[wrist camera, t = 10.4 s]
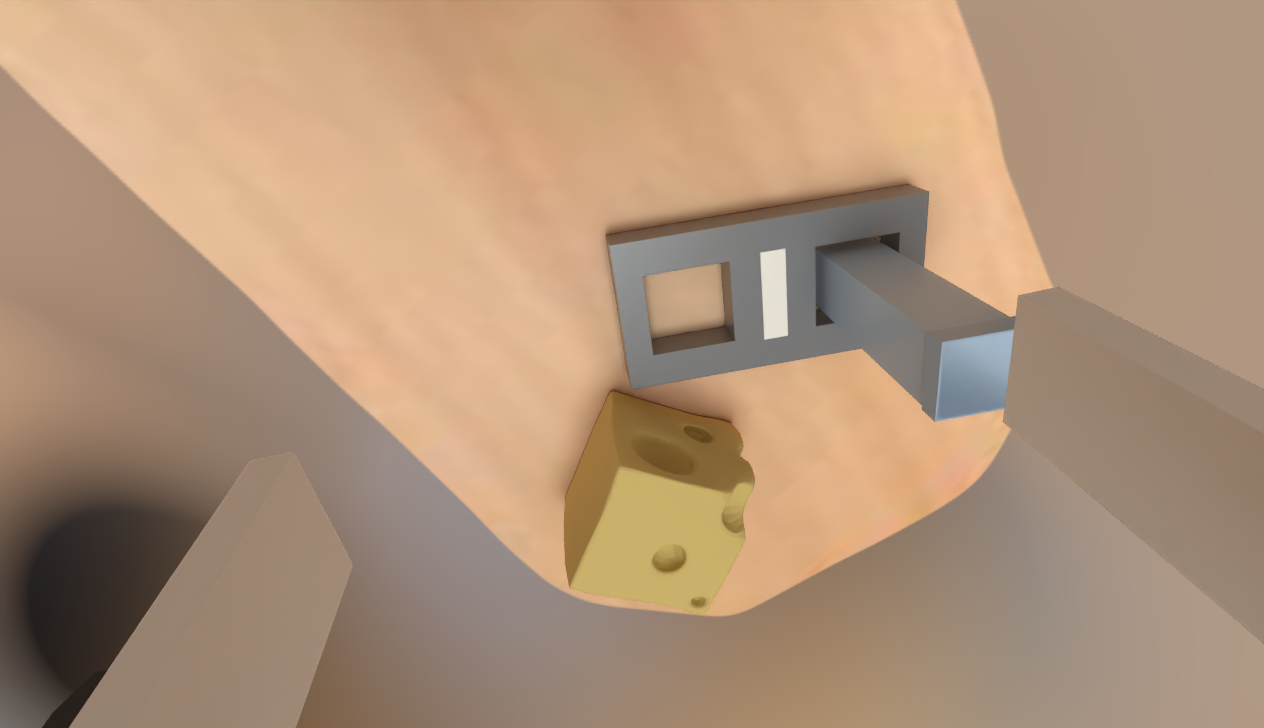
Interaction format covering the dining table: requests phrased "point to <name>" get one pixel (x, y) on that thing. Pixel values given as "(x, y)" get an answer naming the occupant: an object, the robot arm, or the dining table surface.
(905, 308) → the plug
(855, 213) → the port panel
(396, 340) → the dining table surface
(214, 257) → the dining table surface
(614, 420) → the cheese
